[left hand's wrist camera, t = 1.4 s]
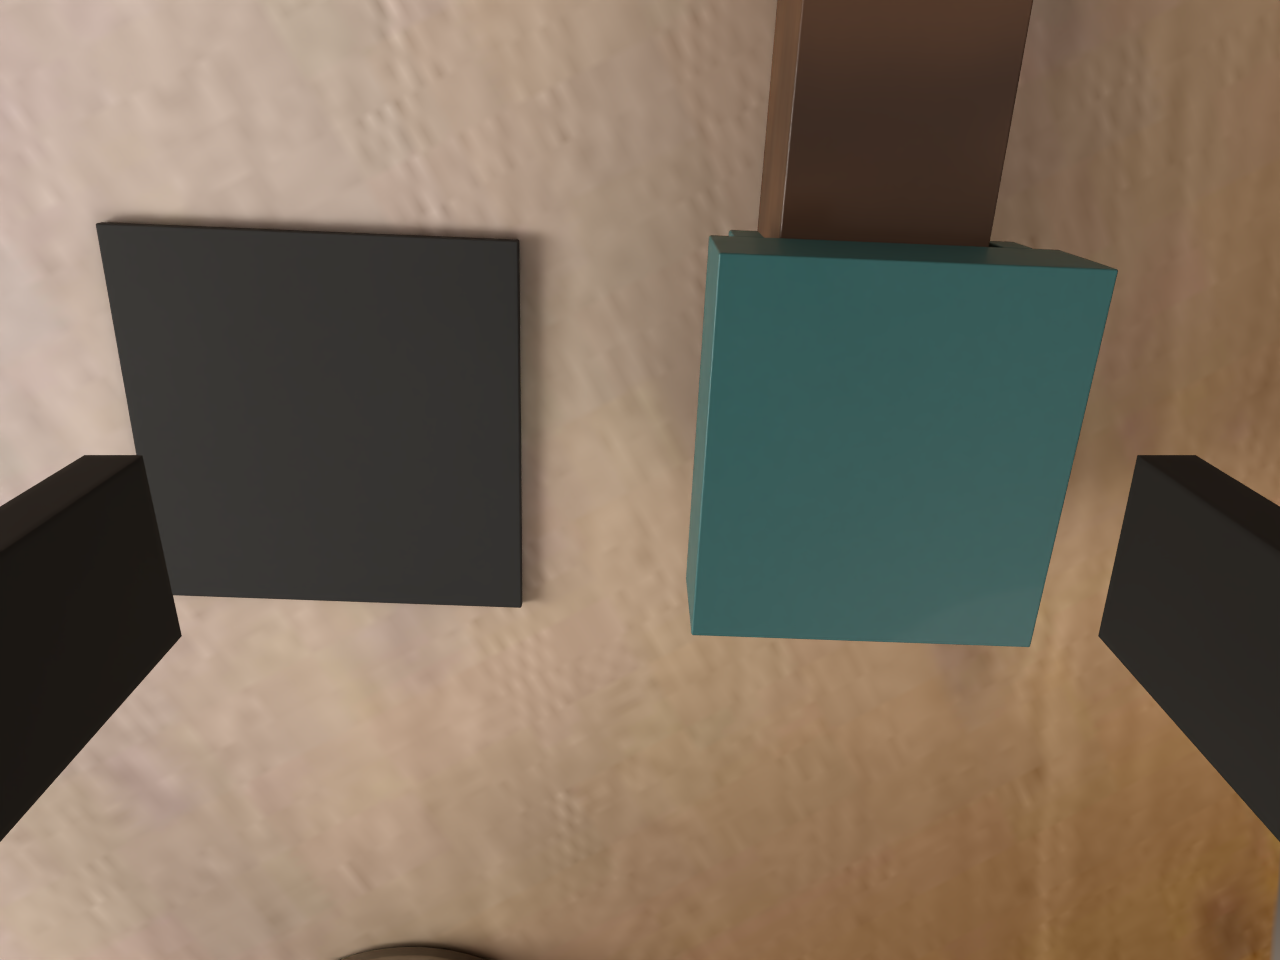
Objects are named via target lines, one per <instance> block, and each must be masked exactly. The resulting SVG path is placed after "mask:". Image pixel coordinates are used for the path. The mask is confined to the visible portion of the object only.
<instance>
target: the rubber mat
mask: <svg viewBox="0 0 1280 960" xmlns="http://www.w3.org/2000/svg"><path fill="white" fill-rule="evenodd" d="M96 228H97V234H98V239H99V245H100V251H101V256H102V262H103V268H104V273H105V279H106V285H107V290H108V296H109V302H110V307H111V313H112V319H113V324H114V330H115V336H116V341H117V347H118V353H119V358H120V364H121V370H122V375H123V381H124V387H125V392H126V398H127V404H128V409H129V415H130V421H131V426H132V432H133V438H134V443H135V449H136V455H143V460H144V465H145V469H146V474H147V479H148V483H149V488H150V492H151V497H152V502H153V506H154V511H155V516H156V520H157V525H158V529H159V534H160V539H161V543H162V548H163V552H164V557H165V562H166V566H167V571H168V576H169V580H170V585H171V589H172V594H173V595H185V596H212V597H240V598H268V599H296V600H323V601H351V602H379V603H407V604H434V605H462V606H490V607H518V608H520V607H521V606H522V506H521V390H520V273H519V240H513V239H489V238H465V237H441V236H417V235H394V234H370V233H346V232H322V231H298V230H274V229H250V228H226V227H202V226H178V225H154V224H131V223H107V222H101V223H97V224H96Z"/></svg>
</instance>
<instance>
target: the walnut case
mask: <svg viewBox="0 0 1280 960" xmlns="http://www.w3.org/2000/svg"><path fill="white" fill-rule="evenodd" d="M1032 3H1033V0H778V1H777V13H776V24H775V36H774V47H773V59H772V70H771V82H770V93H769V105H768V117H767V128H766V140H765V151H764V163H763V174H762V186H761V197H760V209H759V221H758V232H759V233H760V234H761V235H762V236H763V237H764V238H785V239H808V240H832V241H856V242H880V243H904V244H927V245H951V246H975V247H989V242H990V237H991V231H992V226H993V220H994V214H995V209H996V203H997V198H998V192H999V187H1000V181H1001V176H1002V170H1003V164H1004V159H1005V153H1006V148H1007V142H1008V137H1009V131H1010V126H1011V120H1012V115H1013V109H1014V103H1015V98H1016V92H1017V87H1018V81H1019V76H1020V70H1021V65H1022V59H1023V53H1024V48H1025V42H1026V37H1027V31H1028V26H1029V20H1030V15H1031V9H1032Z"/></svg>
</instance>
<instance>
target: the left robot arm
mask: <svg viewBox="0 0 1280 960" xmlns="http://www.w3.org/2000/svg"><path fill="white" fill-rule="evenodd" d="M180 637H181V631H180V626H179V622H178V617H177V612H176V608H175V603H174V599H173V594H172V589H171V585H170V580H169V576H168V571H167V566H166V562H165V557H164V552H163V548H162V543H161V539H160V534H159V529H158V525H157V520H156V516H155V511H154V506H153V502H152V497H151V492H150V488H149V483H148V479H147V474H146V469H145V465H144V460H143V455H84V456H82V457H81V458H79V459H77V460H76V461H74V462H73V463H71V464H69V465H68V466H66V467H64V468H63V469H61V470H59V471H58V472H56V473H55V474H53V475H51V476H50V477H48V478H46V479H45V480H43V481H41V482H40V483H38V484H37V485H35V486H33V487H32V488H30V489H28V490H27V491H25V492H23V493H22V494H20V495H19V496H17V497H15V498H14V499H12V500H10V501H9V502H7V503H5V504H4V505H2V506H1V507H0V842H1V840H2V839H3V838H4V837H5V836H6V835H7V834H8V832H9V831H10V830H11V829H12V828H13V827H14V826H15V825H16V823H17V822H18V821H19V820H20V819H21V818H22V817H23V815H24V814H25V813H26V812H27V811H28V810H29V809H30V807H31V806H32V805H33V804H34V803H35V802H36V801H37V800H38V798H39V797H40V796H41V795H42V794H43V793H44V792H45V790H46V789H47V788H48V787H49V786H50V785H51V784H52V783H53V781H54V780H55V779H56V778H57V777H58V776H59V775H60V773H61V772H62V771H63V770H64V769H65V768H66V767H67V765H68V764H69V763H70V762H71V761H72V760H73V759H74V758H75V756H76V755H77V754H78V753H79V752H80V751H81V750H82V748H83V747H84V746H85V745H86V744H87V743H88V742H89V741H90V739H91V738H92V737H93V736H94V735H95V734H96V733H97V731H98V730H99V729H100V728H101V727H102V726H103V725H104V724H105V722H106V721H107V720H108V719H109V718H110V717H111V716H112V714H113V713H114V712H115V711H116V710H117V709H118V708H119V706H120V705H121V704H122V703H123V702H124V701H125V700H126V699H127V697H128V696H129V695H130V694H131V693H132V692H133V691H134V689H135V688H136V687H137V686H138V685H139V684H140V683H141V682H142V680H143V679H144V678H145V677H146V676H147V675H148V674H149V672H150V671H151V670H152V669H153V668H154V667H155V666H156V665H157V663H158V662H159V661H160V660H161V659H162V658H163V657H164V655H165V654H166V653H167V652H168V651H169V650H170V649H171V647H172V646H173V645H174V644H175V643H176V642H177V641H178V640H179V638H180ZM1099 637H1100V638H1101V640H1102V641H1103V642H1104V643H1105V644H1106V645H1107V646H1108V647H1109V649H1110V650H1111V651H1112V652H1113V653H1114V654H1115V655H1116V657H1117V658H1118V659H1119V660H1120V661H1121V662H1122V663H1123V665H1124V666H1125V667H1126V668H1127V669H1128V670H1129V671H1130V672H1131V674H1132V675H1133V676H1134V677H1135V678H1136V679H1137V680H1138V682H1139V683H1140V684H1141V685H1142V686H1143V687H1144V688H1145V689H1146V691H1147V692H1148V693H1149V694H1150V695H1151V696H1152V697H1153V699H1154V700H1155V701H1156V702H1157V703H1158V704H1159V705H1160V706H1161V708H1162V709H1163V710H1164V711H1165V712H1166V713H1167V714H1168V716H1169V717H1170V718H1171V719H1172V720H1173V721H1174V722H1175V724H1176V725H1177V726H1178V727H1179V728H1180V729H1181V730H1182V731H1183V733H1184V734H1185V735H1186V736H1187V737H1188V738H1189V739H1190V741H1191V742H1192V743H1193V744H1194V745H1195V746H1196V747H1197V748H1198V750H1199V751H1200V752H1201V753H1202V754H1203V755H1204V756H1205V758H1206V759H1207V760H1208V761H1209V762H1210V763H1211V764H1212V765H1213V767H1214V768H1215V769H1216V770H1217V771H1218V772H1219V773H1220V775H1221V776H1222V777H1223V778H1224V779H1225V780H1226V781H1227V783H1228V784H1229V785H1230V786H1231V787H1232V788H1233V789H1234V790H1235V792H1236V793H1237V794H1238V795H1239V796H1240V797H1241V798H1242V800H1243V801H1244V802H1245V803H1246V804H1247V805H1248V806H1249V807H1250V809H1251V810H1252V811H1253V812H1254V813H1255V814H1256V815H1257V817H1258V818H1259V819H1260V820H1261V821H1262V822H1263V823H1264V824H1265V826H1266V827H1267V828H1268V829H1269V830H1270V831H1271V832H1272V834H1273V835H1274V836H1275V837H1276V838H1277V839H1278V840H1279V842H1280V507H1279V506H1278V505H1276V504H1275V503H1273V502H1271V501H1270V500H1268V499H1266V498H1265V497H1263V496H1261V495H1260V494H1258V493H1257V492H1255V491H1253V490H1252V489H1250V488H1248V487H1247V486H1245V485H1243V484H1242V483H1240V482H1239V481H1237V480H1235V479H1234V478H1232V477H1230V476H1229V475H1227V474H1225V473H1224V472H1222V471H1221V470H1219V469H1217V468H1216V467H1214V466H1212V465H1211V464H1209V463H1207V462H1206V461H1204V460H1203V459H1201V458H1199V457H1198V456H1196V455H1138V456H1137V460H1136V465H1135V469H1134V474H1133V479H1132V483H1131V488H1130V492H1129V497H1128V502H1127V506H1126V511H1125V516H1124V520H1123V525H1122V529H1121V534H1120V539H1119V543H1118V548H1117V552H1116V557H1115V562H1114V566H1113V571H1112V576H1111V580H1110V585H1109V589H1108V594H1107V599H1106V603H1105V608H1104V612H1103V617H1102V622H1101V626H1100V631H1099ZM340 960H485V959H482V958H479V957H476V956H472V955H469V954H465V953H461V952H456V951H451V950H445V949H438V948H427V947H395V948H384V949H378V950H371V951H367V952H362V953H358V954H355V955H351V956H348V957H345V958H342V959H340Z"/></svg>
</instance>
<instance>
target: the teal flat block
mask: <svg viewBox="0 0 1280 960" xmlns="http://www.w3.org/2000/svg"><path fill="white" fill-rule="evenodd" d="M1117 272H1118V270H1117V269H1114V268H1111V267H1108V266H1105V265H1102V264H1099V263H1096V262H1093V261H1090V260H1087V259H1084V258H1081V257H1078V256H1075V255H1072V254H1069V253H1066V252H1063V251H1060V250H1046V249H1032V248H1029V247H1026V246H1023V245H1021V244H1018V243H1015V242H1000V241H990V242H989V247H975V246H951V245H927V244H904V243H880V242H856V241H832V240H808V239H785V238H764V237H763V236H762V235H761V234H760V233H759V232H758V231H739V230H730V231H729V236H713V235H711V236H710V237H709V246H708V261H707V276H706V291H705V306H704V321H703V335H702V350H701V365H700V380H699V395H698V410H697V425H696V439H695V454H694V469H693V484H692V499H691V514H690V529H689V543H688V558H687V573H686V582H687V592H688V602H689V613H690V623H691V633H692V635H708V636H736V637H764V638H792V639H820V640H848V641H876V642H904V643H932V644H960V645H988V646H1016V647H1030V644H1031V640H1032V635H1033V631H1034V627H1035V622H1036V618H1037V614H1038V610H1039V605H1040V601H1041V597H1042V593H1043V588H1044V584H1045V580H1046V576H1047V571H1048V567H1049V563H1050V558H1051V554H1052V550H1053V546H1054V541H1055V537H1056V533H1057V529H1058V524H1059V520H1060V516H1061V511H1062V507H1063V503H1064V499H1065V494H1066V490H1067V486H1068V482H1069V477H1070V473H1071V469H1072V465H1073V460H1074V456H1075V452H1076V447H1077V443H1078V439H1079V435H1080V430H1081V426H1082V422H1083V418H1084V413H1085V409H1086V405H1087V401H1088V396H1089V392H1090V388H1091V383H1092V379H1093V375H1094V371H1095V366H1096V362H1097V358H1098V354H1099V349H1100V345H1101V341H1102V336H1103V332H1104V328H1105V324H1106V319H1107V315H1108V311H1109V307H1110V302H1111V298H1112V294H1113V290H1114V285H1115V281H1116V277H1117Z"/></svg>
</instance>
